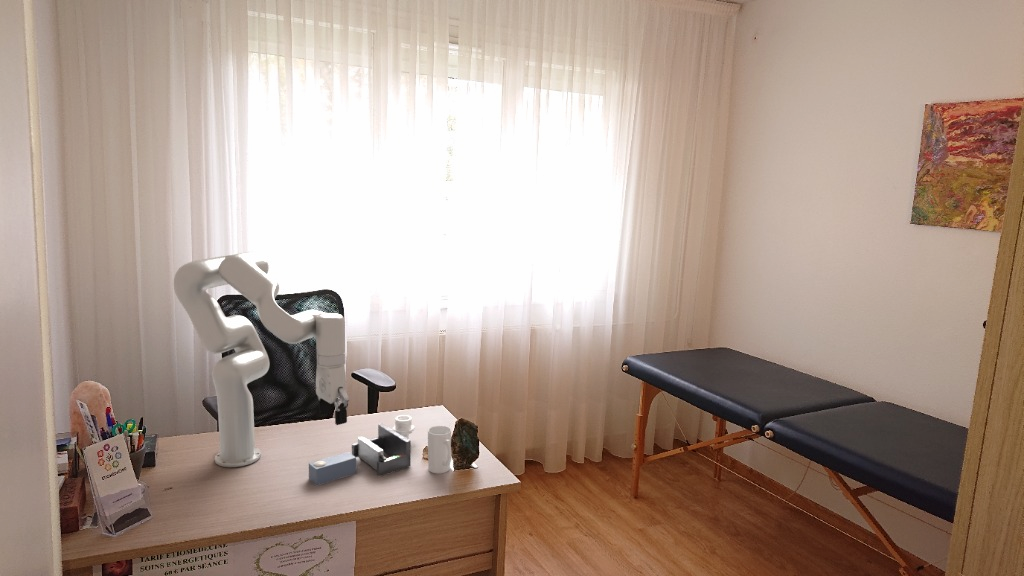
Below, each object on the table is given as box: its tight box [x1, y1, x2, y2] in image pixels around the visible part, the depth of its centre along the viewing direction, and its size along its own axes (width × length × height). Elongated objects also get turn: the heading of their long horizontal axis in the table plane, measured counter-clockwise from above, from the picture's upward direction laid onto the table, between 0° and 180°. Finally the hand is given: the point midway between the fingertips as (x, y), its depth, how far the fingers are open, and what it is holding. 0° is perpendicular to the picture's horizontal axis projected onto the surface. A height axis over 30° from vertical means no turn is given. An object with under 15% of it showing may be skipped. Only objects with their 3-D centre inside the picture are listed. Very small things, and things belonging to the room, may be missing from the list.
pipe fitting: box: [391, 414, 415, 440], centre depth 208 cm, size 6×7×8 cm
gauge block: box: [308, 451, 361, 486], centre depth 185 cm, size 5×14×5 cm, turn 132°
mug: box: [427, 425, 452, 474], centre depth 189 cm, size 10×7×12 cm, turn 34°
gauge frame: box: [351, 423, 412, 477], centre depth 194 cm, size 10×16×8 cm, turn 41°
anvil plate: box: [357, 436, 387, 471], centre depth 191 cm, size 2×15×6 cm, turn 41°
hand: (333, 418), depth 182 cm, fingers open, 9 cm apart
